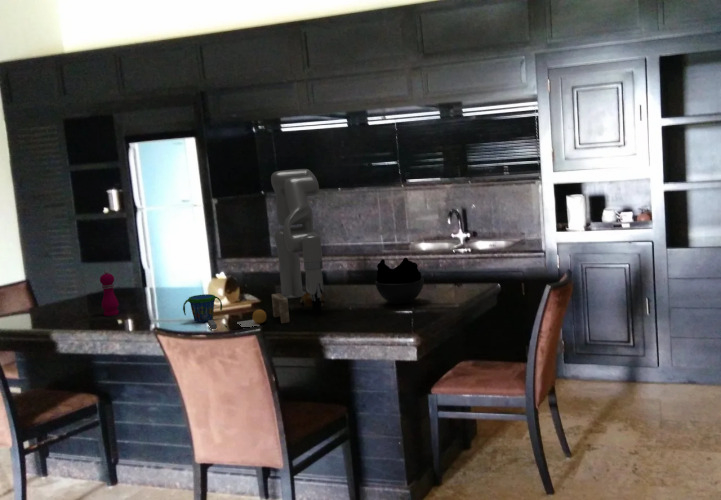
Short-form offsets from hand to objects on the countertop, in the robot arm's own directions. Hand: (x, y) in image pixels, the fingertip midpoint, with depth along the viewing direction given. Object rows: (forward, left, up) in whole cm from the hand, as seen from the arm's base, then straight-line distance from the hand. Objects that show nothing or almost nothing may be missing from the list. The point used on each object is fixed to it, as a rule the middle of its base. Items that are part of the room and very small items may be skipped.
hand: (317, 310), depth 308 cm
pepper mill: (-60, -78, -2) cm, 98 cm away
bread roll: (-19, +3, -2) cm, 20 cm away
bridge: (0, -15, -2) cm, 15 cm away
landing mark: (0, -31, -2) cm, 31 cm away
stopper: (-2, -42, -2) cm, 42 cm away
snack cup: (-18, -43, -2) cm, 47 cm away
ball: (+2, -24, +1) cm, 24 cm away
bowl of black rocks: (+4, +35, -2) cm, 35 cm away
